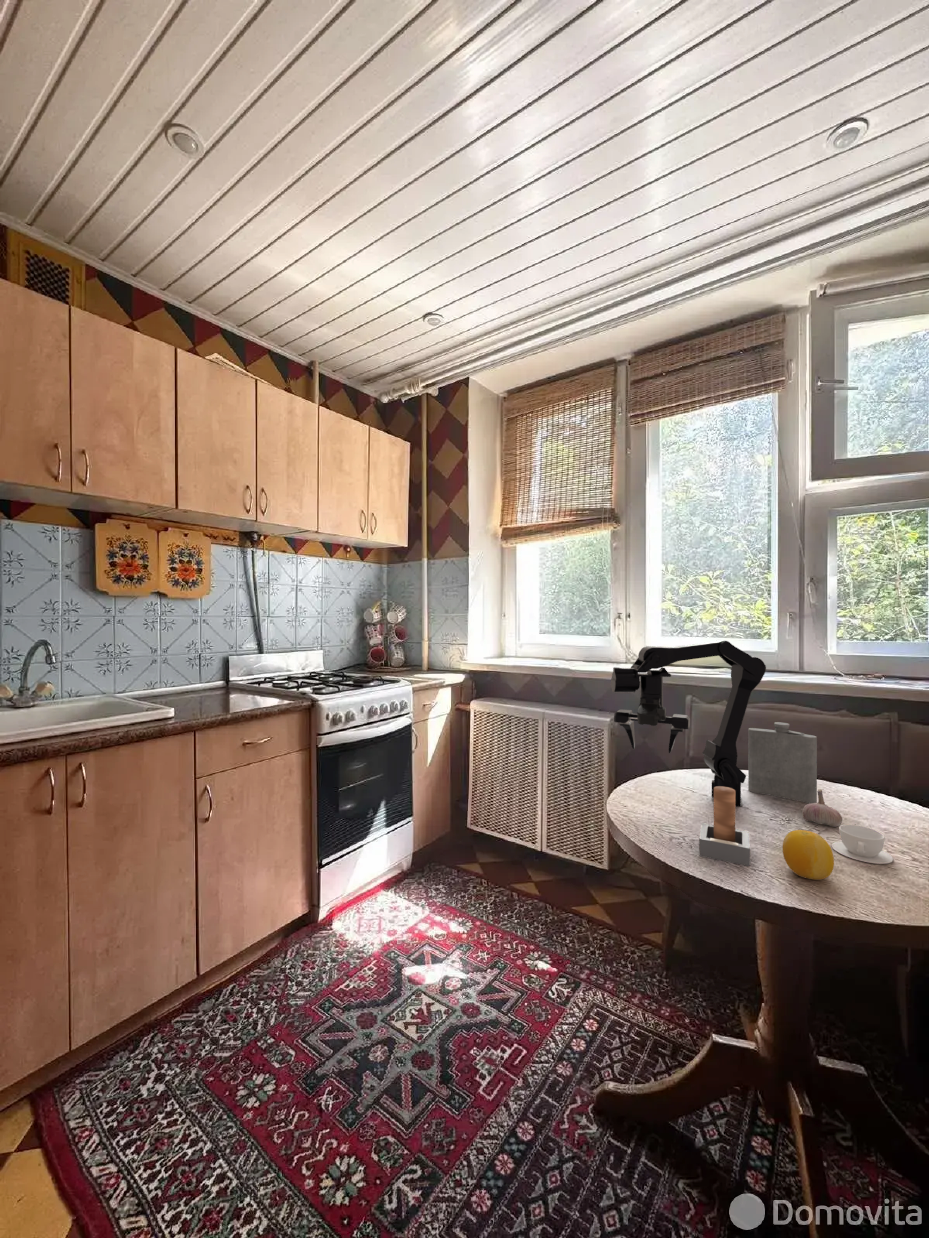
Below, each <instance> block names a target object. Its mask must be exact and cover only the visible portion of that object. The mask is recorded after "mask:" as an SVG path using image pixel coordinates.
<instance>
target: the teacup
mask: <svg viewBox="0 0 929 1238" xmlns="http://www.w3.org/2000/svg"><path fill="white" fill-rule="evenodd" d="M838 831H839V837H840V840H838V841H835V842H832V843H831V849H833V850H834V851H835V852H838V854H841V855H843V856H845V857H847V858H850V859H853V860H855V861H856V860H857V861H861V862H864V863H870V864H878V865H879V864H880V865H882V864H891V863H893V861H894V857H893V856H892V855H891V854H890V853H889V852H887V851H884V850H883V849H884V844H885V838H886V836H885V834H883V833H882V832H880V831H878V830H876V829H874V828H871V827H867V826H865V825H864V826H863V825H859V824H857V825H856V824H840V825H838Z"/></svg>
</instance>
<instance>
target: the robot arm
mask: <svg viewBox="0 0 929 1238" xmlns="http://www.w3.org/2000/svg"><path fill="white" fill-rule="evenodd" d="M637 656H638V657H637V659H636V660H635V661H634V662H633V664H632V665H631V667H617V666H615V667H612V668H613V669H612V673H611V678H610V687H611V688H610V689H611V690H612V693H615V694H616V693H617V694H618V693H625V694H626V693H627V694H631V693H633V694H635V693H636V692H637V691H638V690H639V689H640V691H639V692H640V693H639V695H640V697H639V704H638V708H637V712H636V713H634V712H633V710H631V709H619V710H617V711H616V712H615V713H614V715H613V722H614V723H618V725H619V727H620V726H621V727H623V729H624V730H625V732H626V734H627V736H628V739H629V743H630V744H631V745H630V746H631V747H632V749H633V750H635V747H636V738H635V737H636V736H635V721H636V722H637V724H638V725H641V726H644V725H649V726H651V727H655V726H658V724H669V725H671V728H670V733H669V734H670V735H669V741H668V742H669V743H668V754H671V753H672V751H673V748H674V744H675V741H676V739H677V736H678V734H679V733H683V732H684V731H685V730H689V729H690V726H691V718H690V716H689V715H687V714H678V713H673V715H672V716H667V708H666V706H664V691H663V690H664V689H663V687H664V686H663V685H664V684H663V683H664V679H663V678H670V677H672V674H671V673H670V672H669V671H668V670H667V669H666V668H665V667H667V666H670V665H672V664H674V663H677V662H680V661H681V662H683V661H689V660H696V659H704V658H711V657H712V658H713V657H720V658H721V659H722V661H724V663H726V664H728V666H730V667H731V671H730V681H731V689H730V692H729V695H728V699H727V702H726V705H725V709H724V712H723V715H722V718H721V722H720V725H719V729H718V731H717V734H716V736H715V738H714V739H713V740H709V739H706V741H705V748H704V750H703V751H702V755H703V761H704V763H705V764H706V766H707V767H708V768H710V771H711V773H712V774H714V776H713V780H711V798H712V799H713V803H714V787H716V786H723V787H729V788H732V789H734V790H735V807H742V792H741V791H742V786H741V785H742V784H744V783H745V781H746V777H747V775H746V774H745V773H744V771H742V770H741V769H740V768H739V767H738V766H737V764H738V763H737V762H738V750H737V740H738V738H739V734H740V731H741V728H742V724H743V721H744V717H745V714H746V711H747V708H748V705H749V701H750V699H751V698H750V697H751V695H752V692H753V691H754V690H755V689H756V687H758V686H759V685H760V683H761V681H762V679H763V677H764V675H765V673H766V671H767V665H766V664H765V662H764V661H763V660H762V659H761V658H759V657H755V656H752V655H750V654H749V653H747V652H745V651H743V650H742V649H740V648H738V647H736V646H735V645H734V644H732V643H731V642H730V641H728V640H721V639H717V640H715V641H707V642H701V643H695V644H687V645H679V646H673V647H672V646H651V645H650V646H649V645H648V646H647V645H646V646H644V647H641V649H640V650H639V652H638V655H637ZM657 669H658V670H657Z"/></svg>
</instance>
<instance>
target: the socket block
mask: <svg viewBox="0 0 929 1238" xmlns="http://www.w3.org/2000/svg"><path fill="white" fill-rule="evenodd" d="M699 832H700V833H699V837H698V846H699V849H698V851H699V852H698V854H699V856H700V857H702V858H708V859H713V860H717V861H722V862H728V863H732V864H735V865H736V864H738V865H742V866H744V867H745V866H746V867H750V866H751V847H750V844H751V843H750V842H751V841H750V831H748V830H743V829H737V828H735V842H730V841H725V840H720V839H714V824H710V823H704V822H702V823H701V826H700V831H699Z"/></svg>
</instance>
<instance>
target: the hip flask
mask: <svg viewBox="0 0 929 1238" xmlns="http://www.w3.org/2000/svg"><path fill="white" fill-rule="evenodd" d="M773 726H774V729H766V728H755V727H749V728H747V729H748V732H747V733H748V736H747V737H748V742H747V744H748V745H747V747H748V749H747V750H748V751H747V753H748V755H747V757H748V760H747V761H748V762H747V764H748V765H747V767H748V779H747V780H748V788H747V789H748V791H749V792H750V791H751V793H756V794H761V795H768V796H773V797H779V798H783V797H784V799H789V800H794V801H797V802H801V803H807V804H810V803H818V792H817V791H818V780H817V779H818V776H817V775H818V768H817V766H818V761H817V760H818V749H817V748H818V738H817V737H818V736H815V735H812V734H805V733H804V732H799V731H794V730H790V729H789V728H790V723H787V722H780V721H777V722H776V721H775V722H774V723H773Z"/></svg>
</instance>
